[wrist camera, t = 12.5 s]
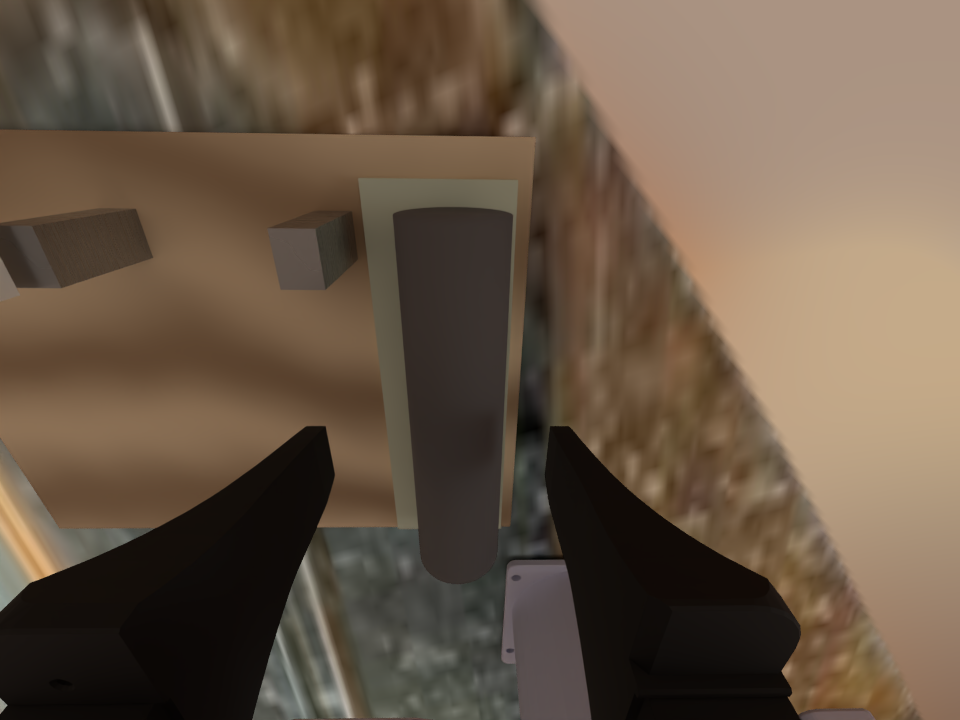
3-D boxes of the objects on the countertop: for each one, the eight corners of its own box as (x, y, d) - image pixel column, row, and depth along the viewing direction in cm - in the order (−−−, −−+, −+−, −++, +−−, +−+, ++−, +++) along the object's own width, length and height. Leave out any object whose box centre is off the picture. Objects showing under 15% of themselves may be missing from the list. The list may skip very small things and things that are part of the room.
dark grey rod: (478, 508, 20) (511, 565, 17) (411, 531, 19) (434, 597, 16) (482, 205, 14) (535, 219, 11) (380, 209, 12) (411, 226, 10)
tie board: (509, 516, 21) (517, 594, 17) (70, 518, 20) (-18, 598, 17) (533, 137, 13) (556, 132, 9) (-176, 127, 13) (-440, 117, 9)
